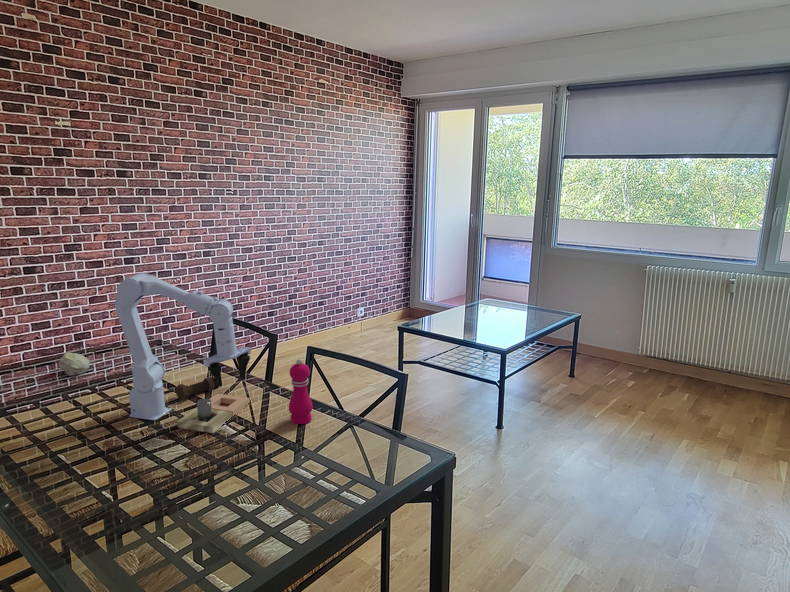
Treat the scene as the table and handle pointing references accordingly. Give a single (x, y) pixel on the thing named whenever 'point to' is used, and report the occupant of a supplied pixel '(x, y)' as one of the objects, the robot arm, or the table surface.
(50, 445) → the table surface
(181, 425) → the pin mount
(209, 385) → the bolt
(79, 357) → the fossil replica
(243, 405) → the socket block
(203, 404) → the pin
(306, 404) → the pepper mill
